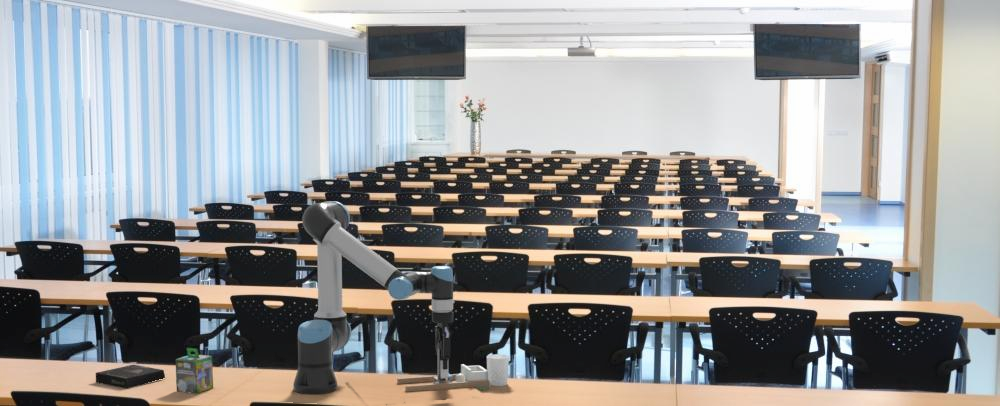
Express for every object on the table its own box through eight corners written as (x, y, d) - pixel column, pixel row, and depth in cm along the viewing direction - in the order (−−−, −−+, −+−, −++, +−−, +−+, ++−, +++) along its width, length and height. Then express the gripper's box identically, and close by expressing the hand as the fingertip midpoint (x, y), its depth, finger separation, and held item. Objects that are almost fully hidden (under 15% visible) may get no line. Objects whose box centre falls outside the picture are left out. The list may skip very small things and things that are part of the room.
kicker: (438, 386, 385) (438, 344, 384) (433, 382, 392) (433, 340, 391) (453, 385, 387) (453, 343, 386) (447, 381, 393) (447, 339, 392)
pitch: (406, 395, 378) (406, 386, 378) (397, 386, 391) (397, 378, 391) (489, 388, 388) (489, 380, 388) (478, 380, 400) (478, 372, 400)
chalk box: (213, 388, 387) (213, 346, 386) (196, 394, 379) (195, 351, 378) (193, 385, 391) (192, 344, 390) (175, 391, 383) (174, 349, 382)
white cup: (506, 387, 391) (506, 359, 390) (484, 386, 392) (484, 358, 392) (510, 382, 398) (510, 354, 398) (489, 381, 400) (489, 353, 399)
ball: (468, 381, 390) (459, 386, 389) (465, 379, 394) (456, 384, 393) (463, 372, 390) (455, 378, 389) (460, 370, 393) (452, 375, 392)
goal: (469, 386, 387) (469, 370, 387) (460, 380, 397) (460, 364, 396) (488, 385, 389) (488, 368, 389) (479, 378, 399) (479, 363, 398)
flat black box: (165, 380, 401) (164, 369, 401) (126, 389, 387) (126, 378, 386) (134, 374, 410) (134, 364, 410) (95, 383, 395) (95, 372, 395)
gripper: (459, 313, 381) (459, 381, 382) (446, 306, 396) (447, 371, 398) (438, 314, 379) (438, 382, 380) (426, 307, 394) (427, 372, 395)
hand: (443, 376), depth 389 cm, fingers open, 3 cm apart
